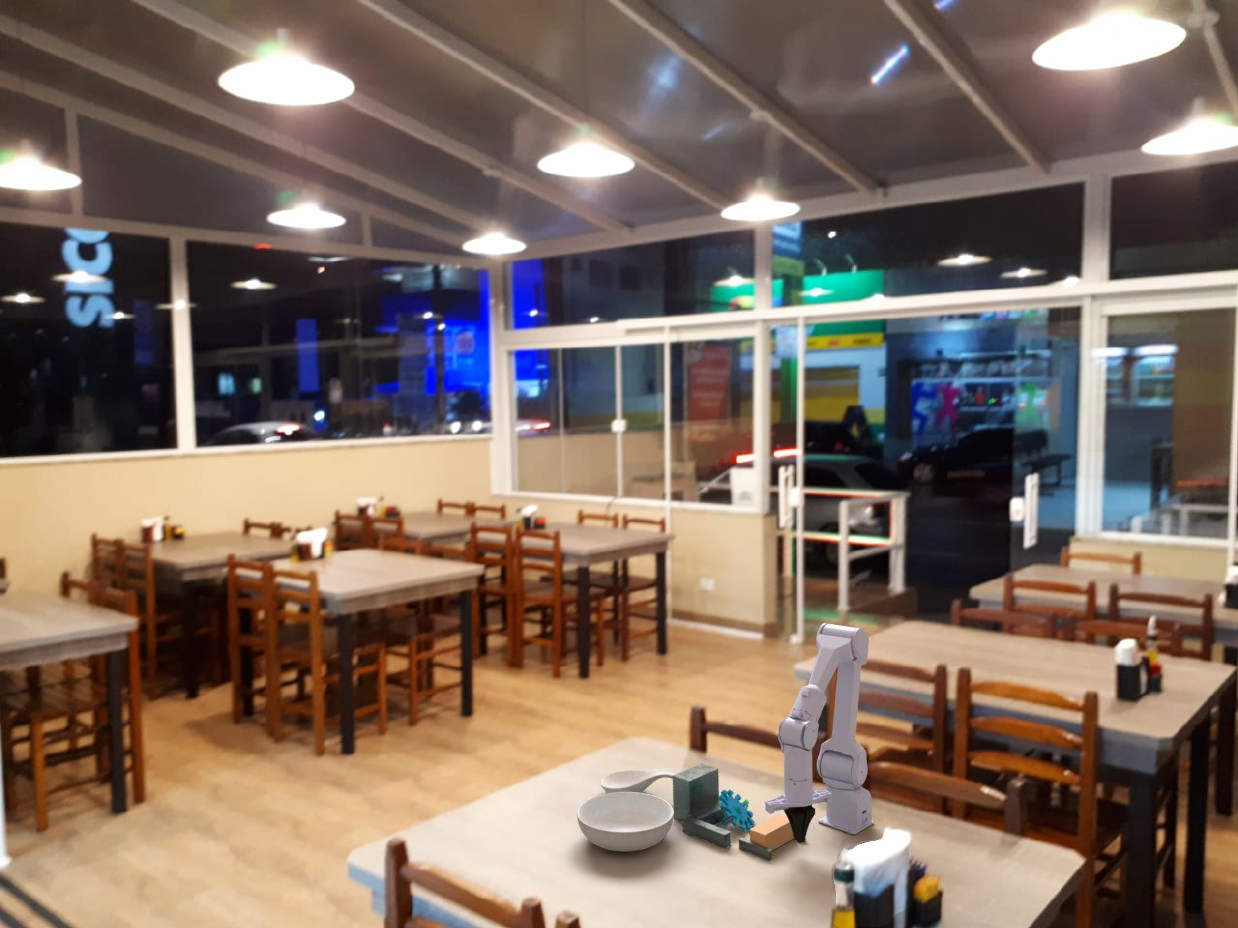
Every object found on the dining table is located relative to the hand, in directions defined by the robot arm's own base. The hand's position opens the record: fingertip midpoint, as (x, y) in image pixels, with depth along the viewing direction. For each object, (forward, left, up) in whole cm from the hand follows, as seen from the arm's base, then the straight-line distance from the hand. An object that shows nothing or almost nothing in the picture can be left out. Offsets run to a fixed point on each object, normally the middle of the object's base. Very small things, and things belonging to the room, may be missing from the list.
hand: (799, 840), depth 197 cm
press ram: (+7, 0, -3) cm, 8 cm away
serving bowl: (+31, +20, -3) cm, 37 cm away
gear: (+18, -2, -3) cm, 19 cm away
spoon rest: (+44, 0, -4) cm, 44 cm away
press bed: (+17, +1, -3) cm, 17 cm away
